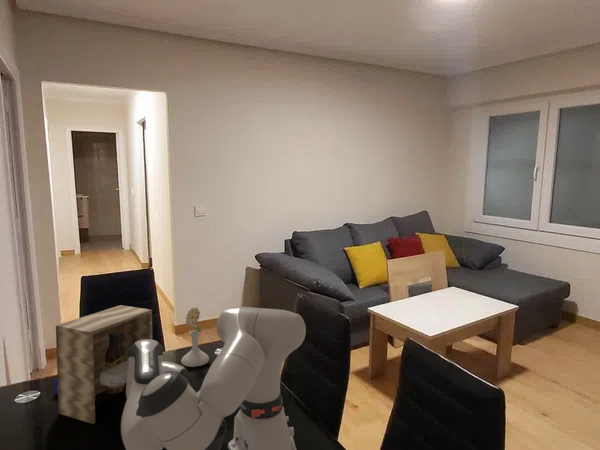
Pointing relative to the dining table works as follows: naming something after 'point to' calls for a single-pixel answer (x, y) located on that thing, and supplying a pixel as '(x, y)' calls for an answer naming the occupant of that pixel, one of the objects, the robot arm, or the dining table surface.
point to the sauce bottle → (114, 357)
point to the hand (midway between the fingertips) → (112, 364)
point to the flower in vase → (194, 342)
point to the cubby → (93, 354)
